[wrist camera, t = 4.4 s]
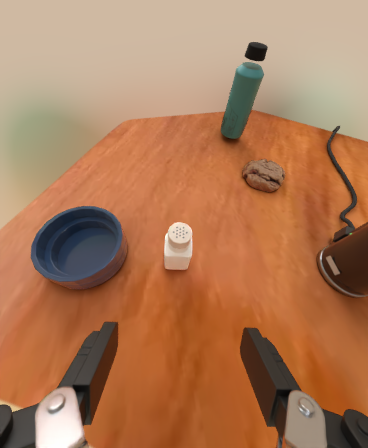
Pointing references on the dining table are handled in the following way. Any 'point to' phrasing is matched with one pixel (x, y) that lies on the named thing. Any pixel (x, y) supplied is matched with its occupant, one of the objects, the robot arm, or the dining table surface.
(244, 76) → the beverage bottle
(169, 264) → the salt shaker
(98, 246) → the bowl
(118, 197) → the dining table surface
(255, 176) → the cookie
